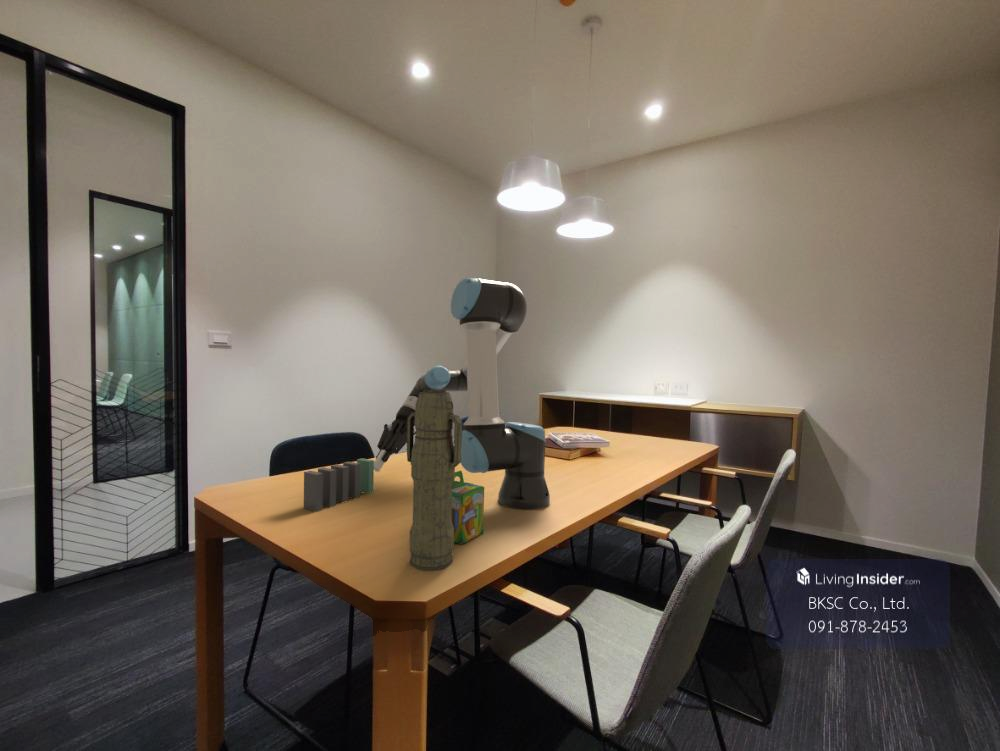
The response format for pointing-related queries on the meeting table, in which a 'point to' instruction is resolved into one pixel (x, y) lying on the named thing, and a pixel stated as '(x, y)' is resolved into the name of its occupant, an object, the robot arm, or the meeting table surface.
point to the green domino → (366, 475)
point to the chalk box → (467, 509)
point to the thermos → (433, 478)
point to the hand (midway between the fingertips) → (375, 469)
